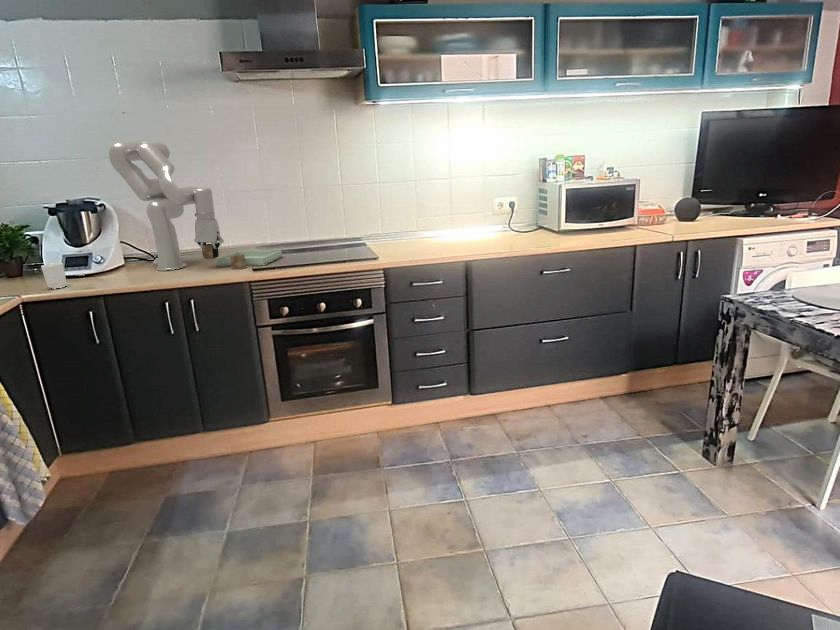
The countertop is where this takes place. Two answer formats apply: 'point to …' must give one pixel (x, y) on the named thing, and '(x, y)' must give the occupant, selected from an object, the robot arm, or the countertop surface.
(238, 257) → the oak block
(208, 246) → the walnut block
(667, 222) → the countertop surface
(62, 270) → the white cup
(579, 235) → the countertop surface
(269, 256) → the tray
